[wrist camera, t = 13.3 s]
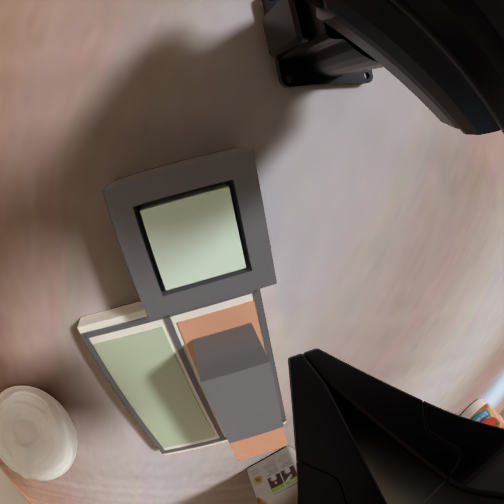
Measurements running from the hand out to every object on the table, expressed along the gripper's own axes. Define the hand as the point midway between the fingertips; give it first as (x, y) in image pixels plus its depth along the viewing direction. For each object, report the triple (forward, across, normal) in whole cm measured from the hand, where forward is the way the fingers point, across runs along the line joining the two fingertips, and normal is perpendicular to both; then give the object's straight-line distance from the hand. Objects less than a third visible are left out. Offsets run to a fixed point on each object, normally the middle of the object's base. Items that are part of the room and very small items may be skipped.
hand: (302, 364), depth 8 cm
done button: (+11, +2, -1) cm, 12 cm away
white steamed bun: (+12, +19, +11) cm, 25 cm away
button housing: (+12, +2, -1) cm, 12 cm away
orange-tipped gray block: (+11, +2, +11) cm, 15 cm away
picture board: (+12, +4, +11) cm, 17 cm away
